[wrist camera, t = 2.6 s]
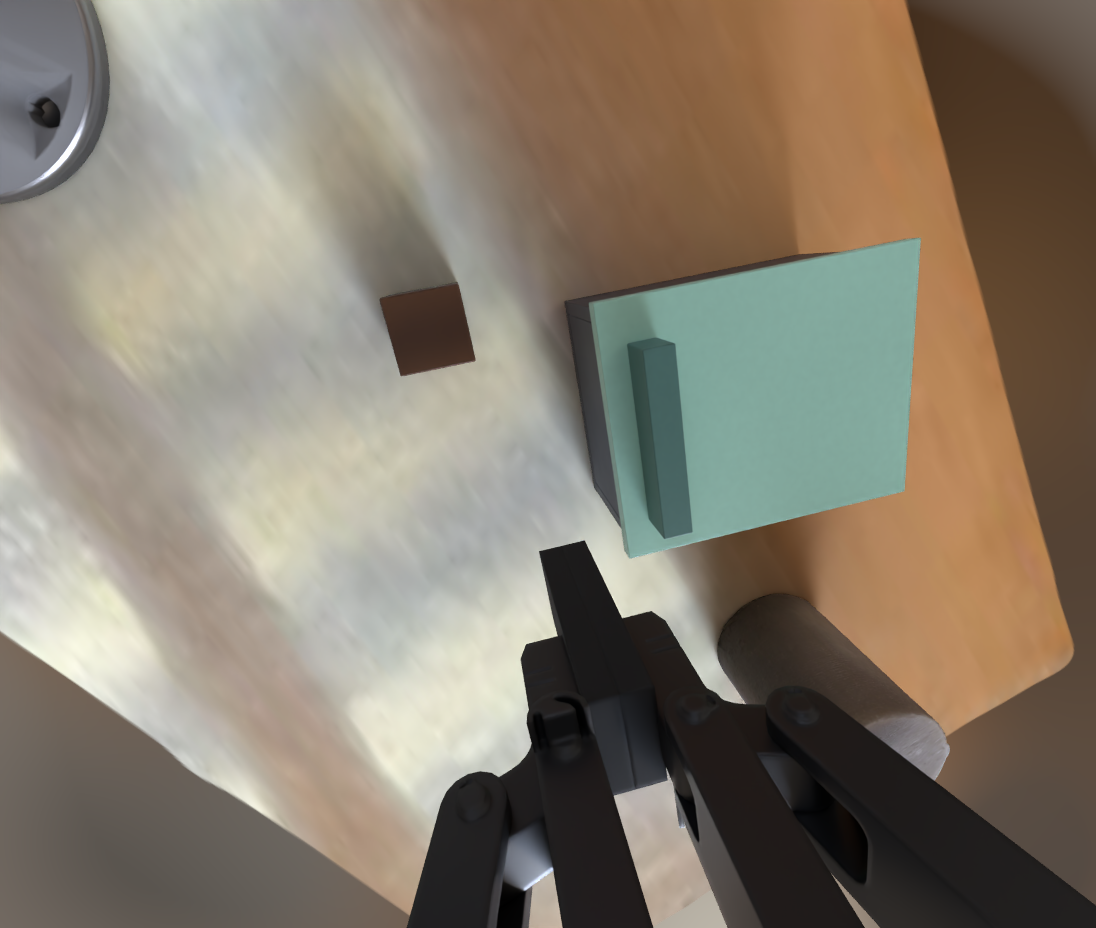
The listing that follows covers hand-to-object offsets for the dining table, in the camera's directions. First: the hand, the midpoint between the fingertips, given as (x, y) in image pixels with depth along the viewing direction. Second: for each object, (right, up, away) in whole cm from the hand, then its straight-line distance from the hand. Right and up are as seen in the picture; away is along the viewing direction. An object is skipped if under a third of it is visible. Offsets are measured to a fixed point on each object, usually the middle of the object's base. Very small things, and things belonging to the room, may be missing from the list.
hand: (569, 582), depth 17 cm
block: (-8, +13, +17) cm, 23 cm away
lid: (+11, +7, +13) cm, 18 cm away
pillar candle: (+19, -12, +30) cm, 38 cm away
